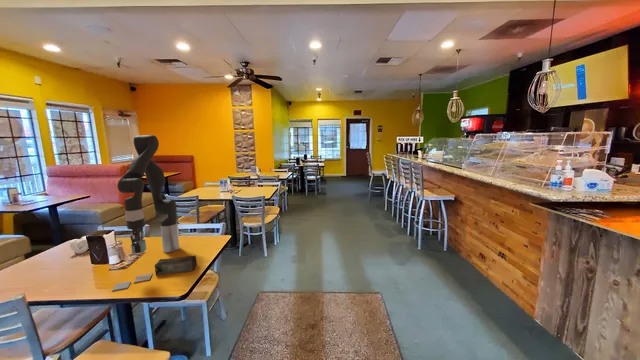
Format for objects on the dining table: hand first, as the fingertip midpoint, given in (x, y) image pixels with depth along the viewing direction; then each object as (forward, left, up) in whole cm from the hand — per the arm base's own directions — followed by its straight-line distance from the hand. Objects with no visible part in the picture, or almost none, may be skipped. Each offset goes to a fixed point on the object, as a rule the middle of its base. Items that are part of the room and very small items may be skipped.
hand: (139, 250), depth 137 cm
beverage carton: (-3, +15, -16) cm, 22 cm away
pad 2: (0, 0, -15) cm, 15 cm away
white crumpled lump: (-57, -45, -16) cm, 74 cm away
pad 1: (+5, -8, -15) cm, 18 cm away
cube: (0, 0, 0) cm, 0 cm away
